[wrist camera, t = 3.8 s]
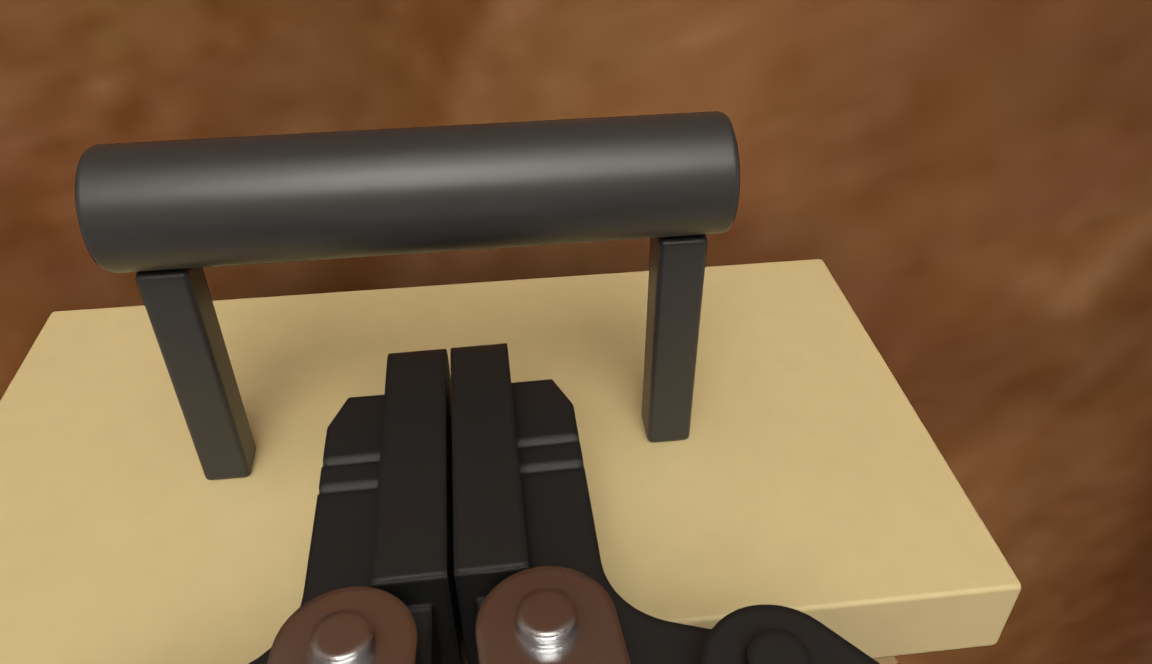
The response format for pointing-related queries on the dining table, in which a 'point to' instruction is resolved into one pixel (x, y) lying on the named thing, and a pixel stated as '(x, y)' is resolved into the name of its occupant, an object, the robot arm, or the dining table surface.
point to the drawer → (443, 321)
